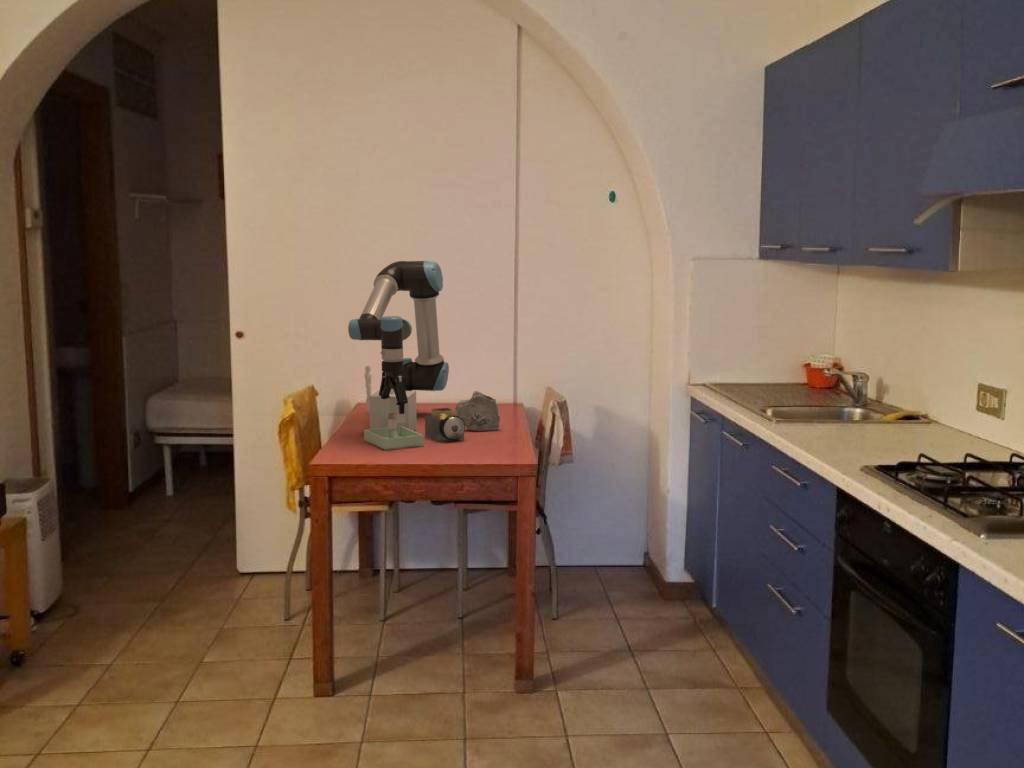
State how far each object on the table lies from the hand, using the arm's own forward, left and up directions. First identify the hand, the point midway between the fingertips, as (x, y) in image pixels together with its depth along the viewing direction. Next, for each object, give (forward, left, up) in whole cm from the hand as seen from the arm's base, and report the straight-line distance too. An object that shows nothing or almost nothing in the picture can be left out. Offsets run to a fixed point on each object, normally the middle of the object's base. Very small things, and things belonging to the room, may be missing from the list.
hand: (393, 419), depth 358 cm
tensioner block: (+2, +20, -8) cm, 22 cm away
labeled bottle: (0, 0, -8) cm, 8 cm away
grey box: (-21, +7, -9) cm, 24 cm away
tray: (0, 0, -8) cm, 8 cm away
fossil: (-7, +37, -9) cm, 39 cm away
